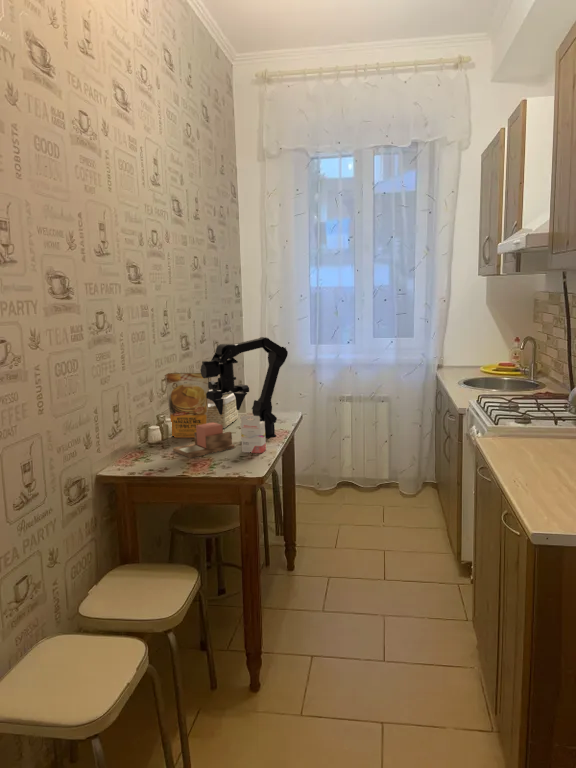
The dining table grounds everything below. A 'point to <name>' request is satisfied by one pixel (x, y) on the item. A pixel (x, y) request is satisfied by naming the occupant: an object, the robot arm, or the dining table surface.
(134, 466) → the dining table surface
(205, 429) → the block
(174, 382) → the pancake mix bag
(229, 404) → the storage basket
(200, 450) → the chute
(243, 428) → the ink cartridge box
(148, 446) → the dining table surface
